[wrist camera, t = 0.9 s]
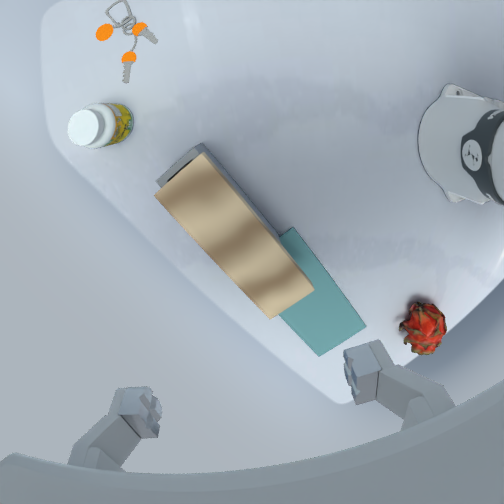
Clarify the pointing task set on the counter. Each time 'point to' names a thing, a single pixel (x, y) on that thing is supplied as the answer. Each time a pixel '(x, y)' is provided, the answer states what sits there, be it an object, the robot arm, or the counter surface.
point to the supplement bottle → (100, 125)
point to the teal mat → (318, 303)
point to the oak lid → (234, 236)
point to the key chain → (137, 30)
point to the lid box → (201, 148)
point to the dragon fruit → (424, 328)
